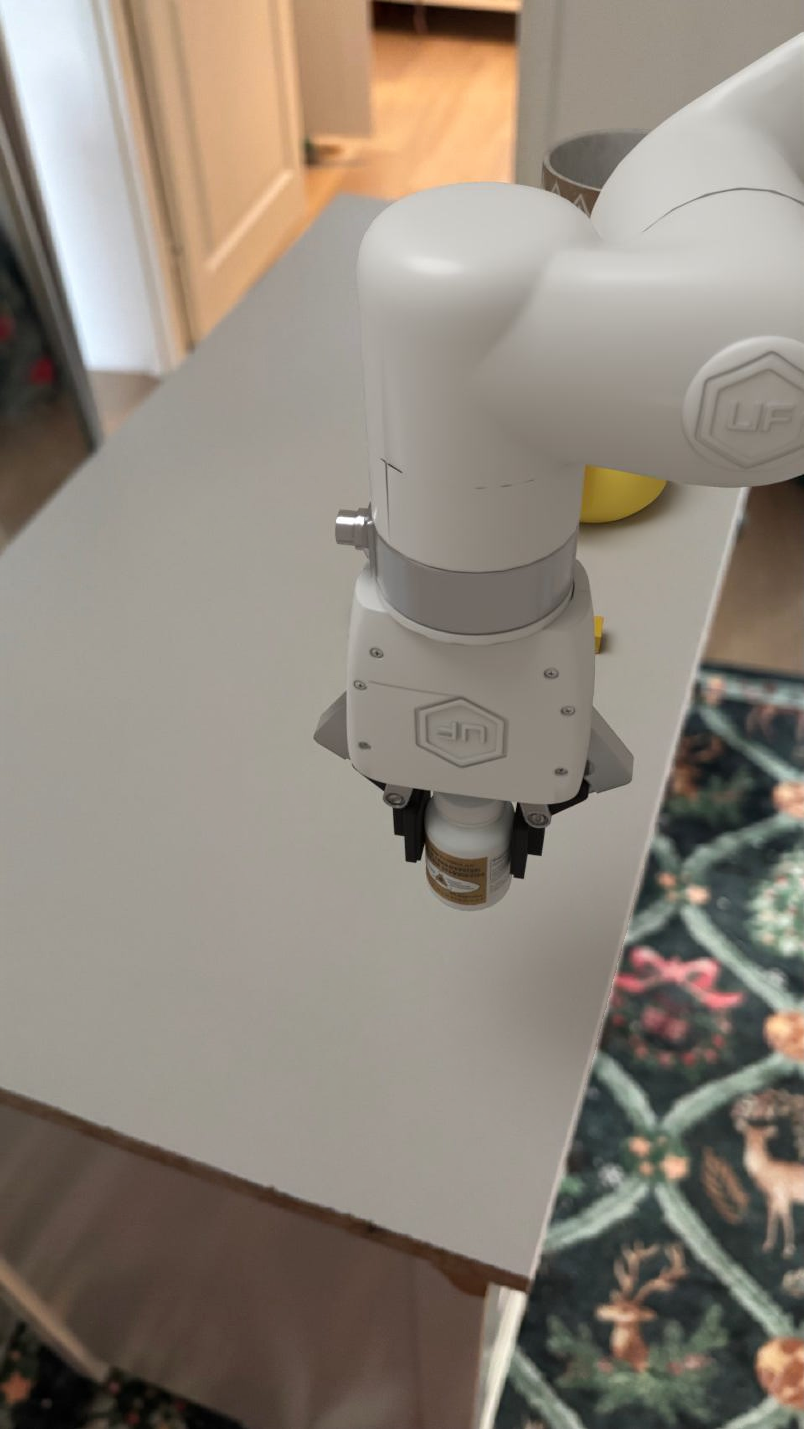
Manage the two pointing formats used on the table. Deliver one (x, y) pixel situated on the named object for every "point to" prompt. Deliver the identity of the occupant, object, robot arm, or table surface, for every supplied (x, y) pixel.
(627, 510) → the teapot
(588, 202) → the planter
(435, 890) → the pill bottle
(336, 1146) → the table surface
